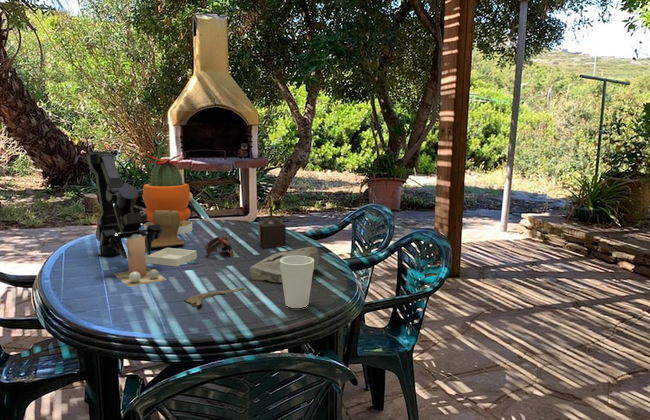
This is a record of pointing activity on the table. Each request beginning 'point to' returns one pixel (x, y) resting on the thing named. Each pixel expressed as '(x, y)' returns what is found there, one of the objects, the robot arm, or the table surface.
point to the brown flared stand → (167, 229)
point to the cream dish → (171, 257)
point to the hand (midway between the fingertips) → (138, 256)
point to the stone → (271, 265)
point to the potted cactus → (167, 193)
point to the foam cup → (297, 280)
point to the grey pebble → (153, 274)
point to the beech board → (143, 280)
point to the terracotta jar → (136, 254)
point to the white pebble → (134, 276)
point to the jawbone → (197, 298)
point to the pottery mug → (219, 245)
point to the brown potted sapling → (272, 229)
